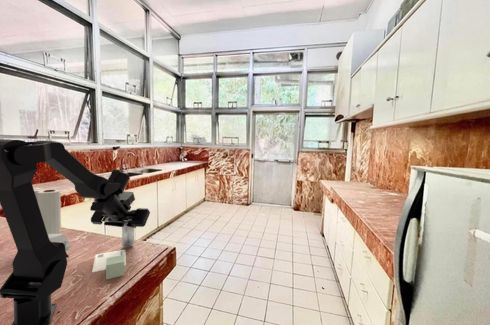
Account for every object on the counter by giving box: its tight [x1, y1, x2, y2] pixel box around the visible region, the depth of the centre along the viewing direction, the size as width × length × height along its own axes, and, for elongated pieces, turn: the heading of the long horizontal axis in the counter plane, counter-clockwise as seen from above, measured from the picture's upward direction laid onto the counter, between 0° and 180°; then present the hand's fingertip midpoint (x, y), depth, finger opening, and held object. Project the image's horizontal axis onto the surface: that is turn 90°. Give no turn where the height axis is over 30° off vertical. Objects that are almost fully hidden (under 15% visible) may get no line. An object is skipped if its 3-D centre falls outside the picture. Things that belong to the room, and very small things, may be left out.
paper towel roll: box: [34, 189, 62, 234], centre depth 77 cm, size 7×6×21 cm
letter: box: [91, 249, 127, 274], centre depth 71 cm, size 12×9×1 cm
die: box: [48, 233, 72, 252], centre depth 71 cm, size 8×9×10 cm
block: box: [105, 255, 125, 280], centre depth 63 cm, size 4×4×4 cm
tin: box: [121, 209, 135, 247], centre depth 80 cm, size 4×4×12 cm
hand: (130, 226), depth 81 cm, fingers closed on tin, 4 cm apart
